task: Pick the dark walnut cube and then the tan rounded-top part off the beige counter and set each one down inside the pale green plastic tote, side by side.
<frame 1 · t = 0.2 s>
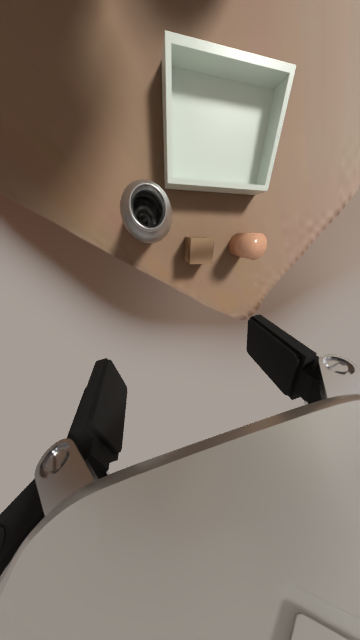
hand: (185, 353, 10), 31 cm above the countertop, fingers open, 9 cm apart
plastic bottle: (145, 220, 32), on the countertop
tan rounded-top part: (238, 244, 38), on the countertop
tote: (217, 140, 28), on the countertop
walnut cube: (194, 249, 36), on the countertop
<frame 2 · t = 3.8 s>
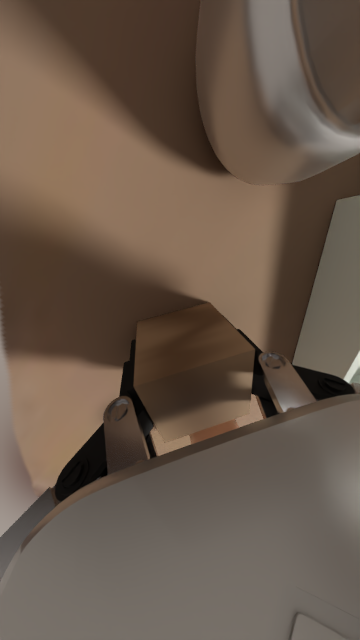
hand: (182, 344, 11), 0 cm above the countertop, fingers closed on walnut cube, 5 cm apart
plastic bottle: (255, 101, 7), on the countertop
tan rounded-top part: (207, 413, 17), on the countertop
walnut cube: (180, 340, 12), on the countertop, touching gripper
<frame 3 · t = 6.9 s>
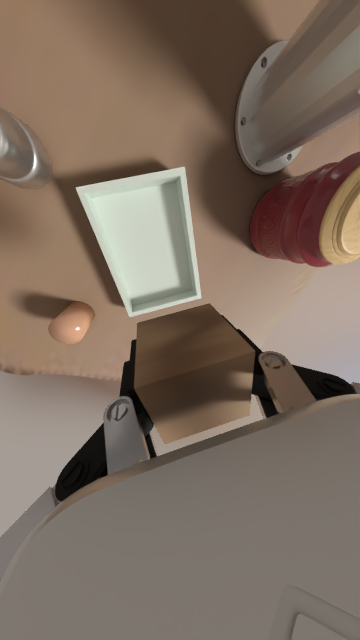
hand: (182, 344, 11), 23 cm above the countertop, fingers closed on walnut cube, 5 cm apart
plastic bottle: (29, 162, 21), on the countertop
tan rounded-top part: (80, 313, 32), on the countertop
canister: (276, 222, 31), on the countertop
tote: (151, 252, 29), on the countertop
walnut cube: (181, 341, 12), point 23 cm above the countertop, touching gripper
when the fingers open (3 cm above the countertop, at t = 10.3 s): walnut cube drops 2 cm, resting on tote.
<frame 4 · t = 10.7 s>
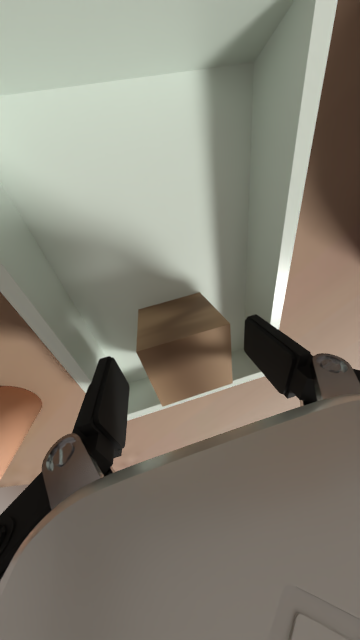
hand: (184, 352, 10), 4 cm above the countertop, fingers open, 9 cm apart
tan rounded-top part: (10, 404, 15), on the countertop
tote: (163, 278, 12), on the countertop
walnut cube: (176, 326, 13), point 1 cm above the countertop, touching tote
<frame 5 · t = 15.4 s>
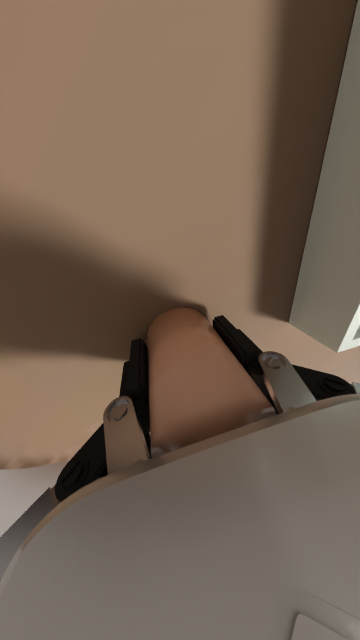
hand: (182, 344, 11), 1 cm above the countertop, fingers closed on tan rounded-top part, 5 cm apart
tan rounded-top part: (179, 337, 12), on the countertop, touching gripper
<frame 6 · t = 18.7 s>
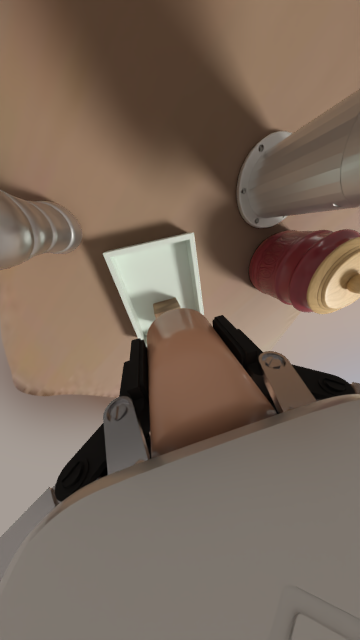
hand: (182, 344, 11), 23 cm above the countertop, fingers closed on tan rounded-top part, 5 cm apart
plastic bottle: (63, 229, 24), on the countertop
tan rounded-top part: (179, 337, 12), point 22 cm above the countertop, touching gripper
canister: (273, 263, 35), on the countertop
tote: (162, 292, 33), on the countertop
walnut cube: (167, 310, 34), point 1 cm above the countertop, touching tote
when the fingers open (3 cm above the countertop, at t = 22.0 s): tan rounded-top part drops 2 cm, resting on tote.
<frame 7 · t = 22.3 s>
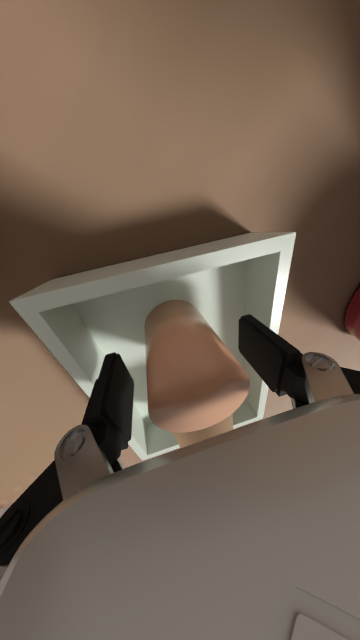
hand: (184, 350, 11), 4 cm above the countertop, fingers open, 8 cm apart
tan rounded-top part: (174, 327, 13), point 1 cm above the countertop, touching tote
tote: (181, 353, 16), on the countertop
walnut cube: (190, 384, 18), point 1 cm above the countertop, touching tote
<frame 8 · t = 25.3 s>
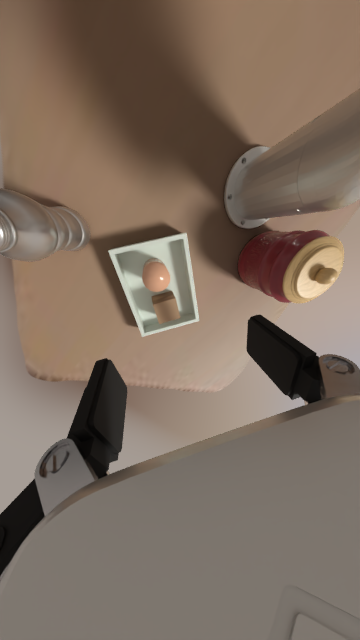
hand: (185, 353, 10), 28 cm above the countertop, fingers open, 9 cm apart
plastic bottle: (73, 230, 28), on the countertop
tan rounded-top part: (154, 270, 34), point 1 cm above the countertop, touching tote
canister: (259, 260, 39), on the countertop
tote: (159, 286, 37), on the countertop
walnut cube: (164, 302, 38), point 1 cm above the countertop, touching tote
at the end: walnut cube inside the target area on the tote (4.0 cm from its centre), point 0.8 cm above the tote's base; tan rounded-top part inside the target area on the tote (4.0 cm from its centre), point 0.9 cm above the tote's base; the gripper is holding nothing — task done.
